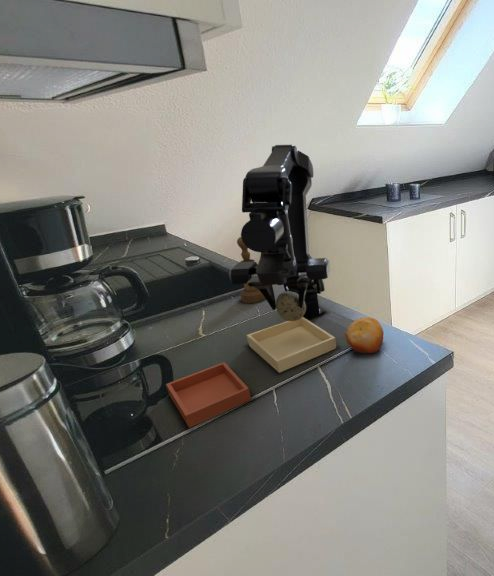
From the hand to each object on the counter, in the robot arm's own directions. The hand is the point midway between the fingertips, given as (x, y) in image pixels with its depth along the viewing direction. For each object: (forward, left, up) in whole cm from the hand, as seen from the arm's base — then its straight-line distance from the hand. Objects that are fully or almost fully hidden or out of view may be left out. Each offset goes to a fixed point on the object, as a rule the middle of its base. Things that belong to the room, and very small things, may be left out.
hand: (287, 308), depth 85 cm
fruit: (+12, +11, -10) cm, 19 cm away
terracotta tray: (+5, -19, -10) cm, 22 cm away
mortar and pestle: (-34, +5, -10) cm, 36 cm away
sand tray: (-1, 0, -10) cm, 10 cm away
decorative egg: (-4, +4, -4) cm, 7 cm away
